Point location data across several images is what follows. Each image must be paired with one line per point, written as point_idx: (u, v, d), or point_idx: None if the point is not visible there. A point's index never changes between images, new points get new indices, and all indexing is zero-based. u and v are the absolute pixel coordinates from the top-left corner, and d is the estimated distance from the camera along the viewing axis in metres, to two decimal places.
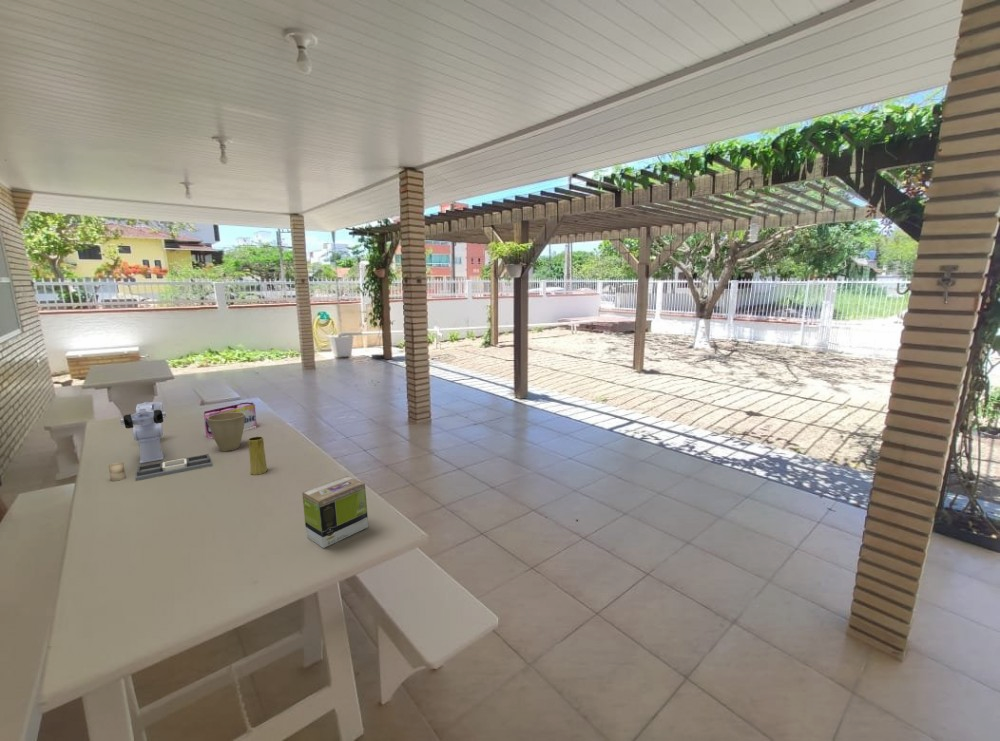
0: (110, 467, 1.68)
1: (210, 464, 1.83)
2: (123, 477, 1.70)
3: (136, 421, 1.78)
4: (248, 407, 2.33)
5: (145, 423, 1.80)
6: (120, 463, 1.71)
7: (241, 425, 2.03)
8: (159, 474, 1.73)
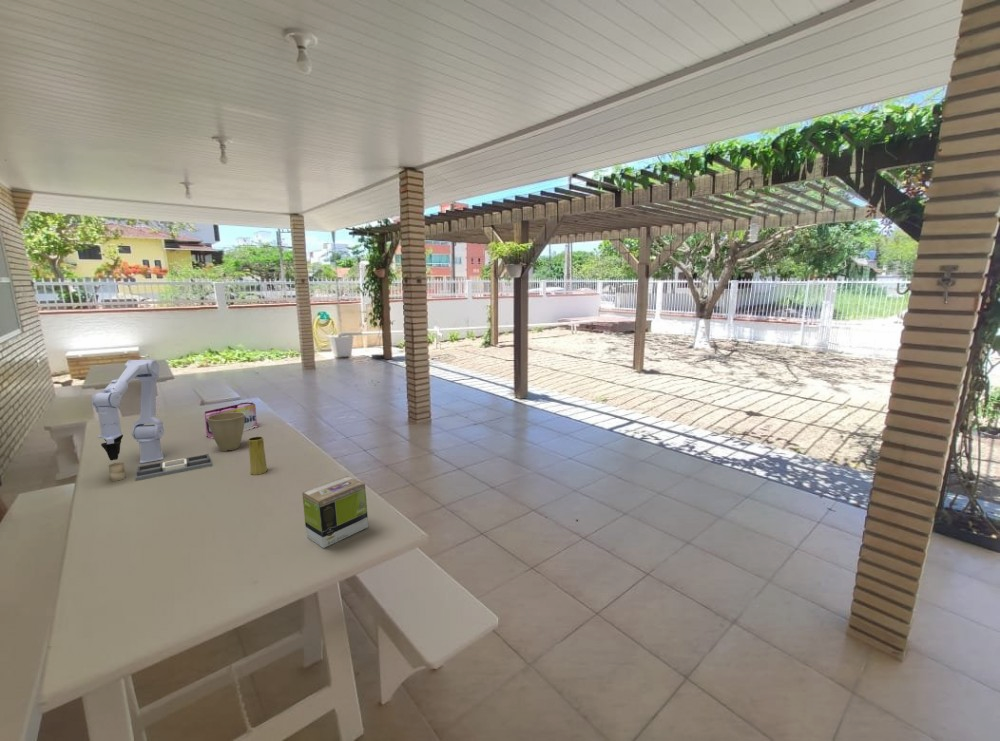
0: (110, 467, 1.68)
1: (210, 464, 1.83)
2: (123, 477, 1.70)
3: None
4: (248, 407, 2.33)
5: None
6: (120, 463, 1.71)
7: (241, 425, 2.03)
8: (159, 474, 1.73)
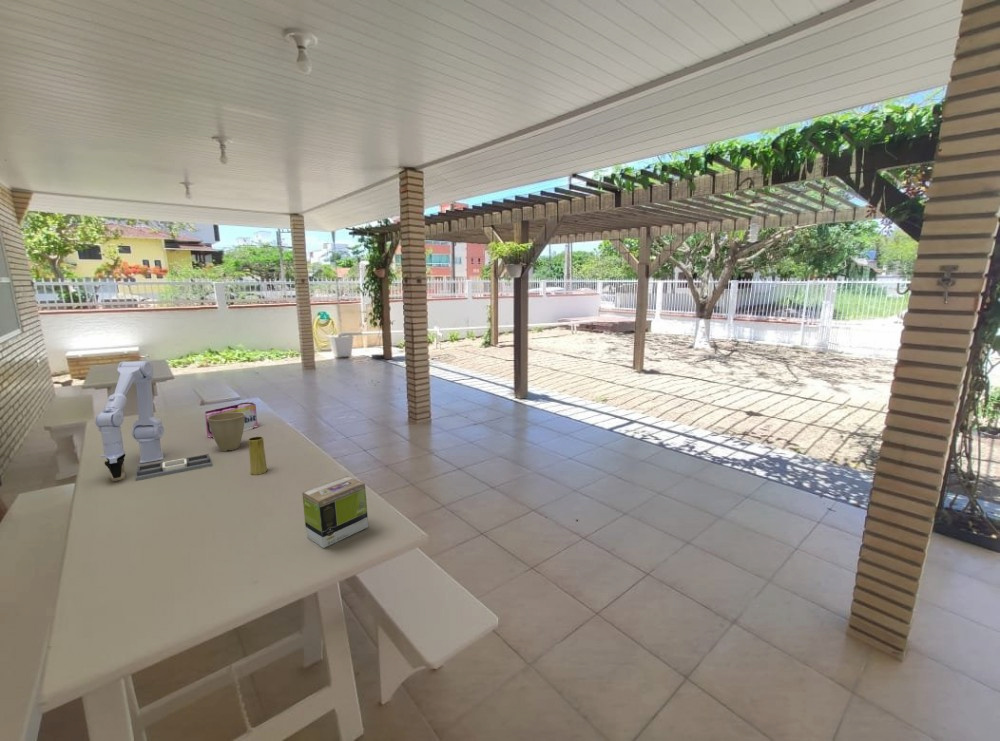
0: None
1: (210, 464, 1.83)
2: (123, 477, 1.70)
3: None
4: (249, 407, 2.33)
5: None
6: None
7: (241, 425, 2.03)
8: (159, 474, 1.73)
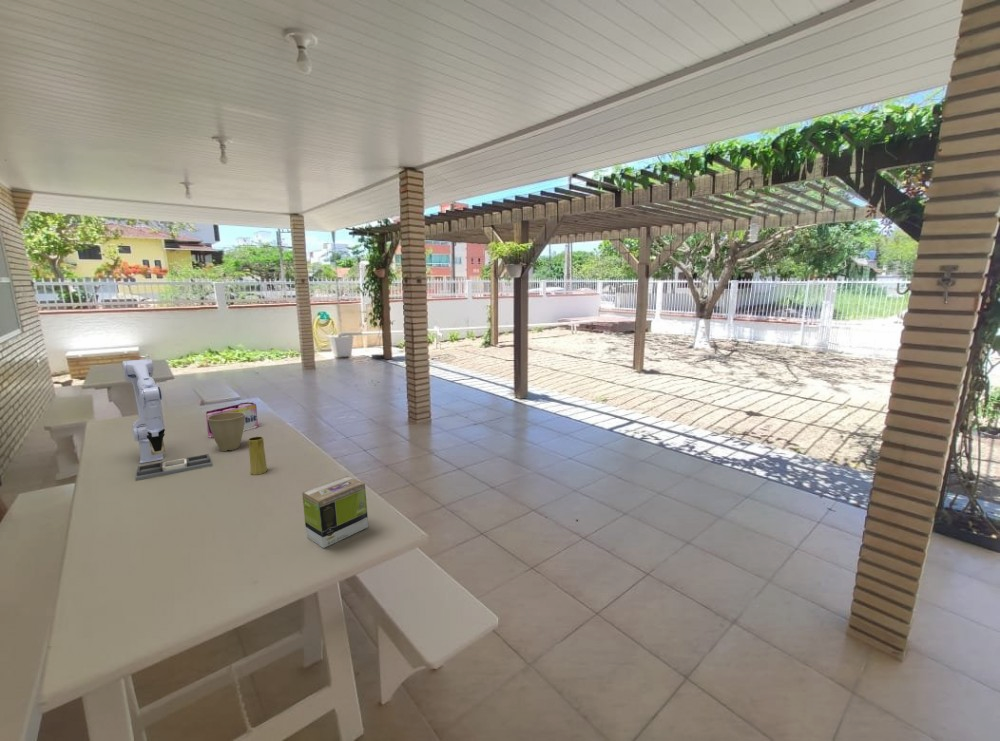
0: None
1: (210, 464, 1.83)
2: (163, 451, 1.76)
3: None
4: (250, 407, 2.33)
5: None
6: None
7: (241, 425, 2.03)
8: (159, 474, 1.73)
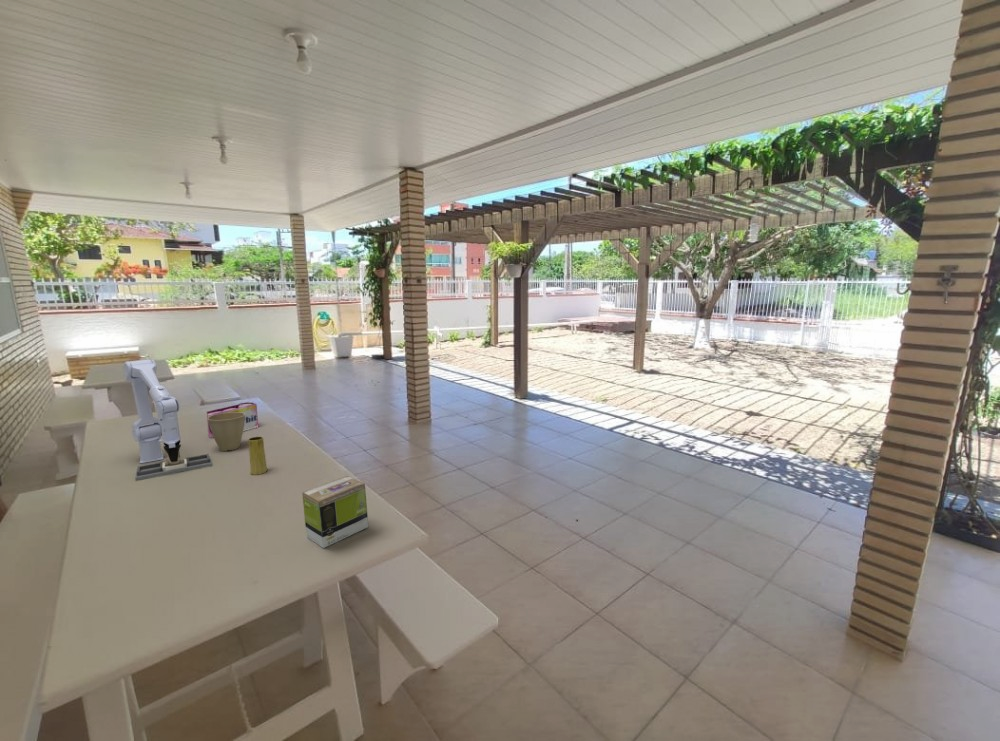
0: None
1: (210, 464, 1.83)
2: (179, 461, 1.80)
3: None
4: (250, 407, 2.33)
5: None
6: None
7: (241, 425, 2.03)
8: (159, 474, 1.73)
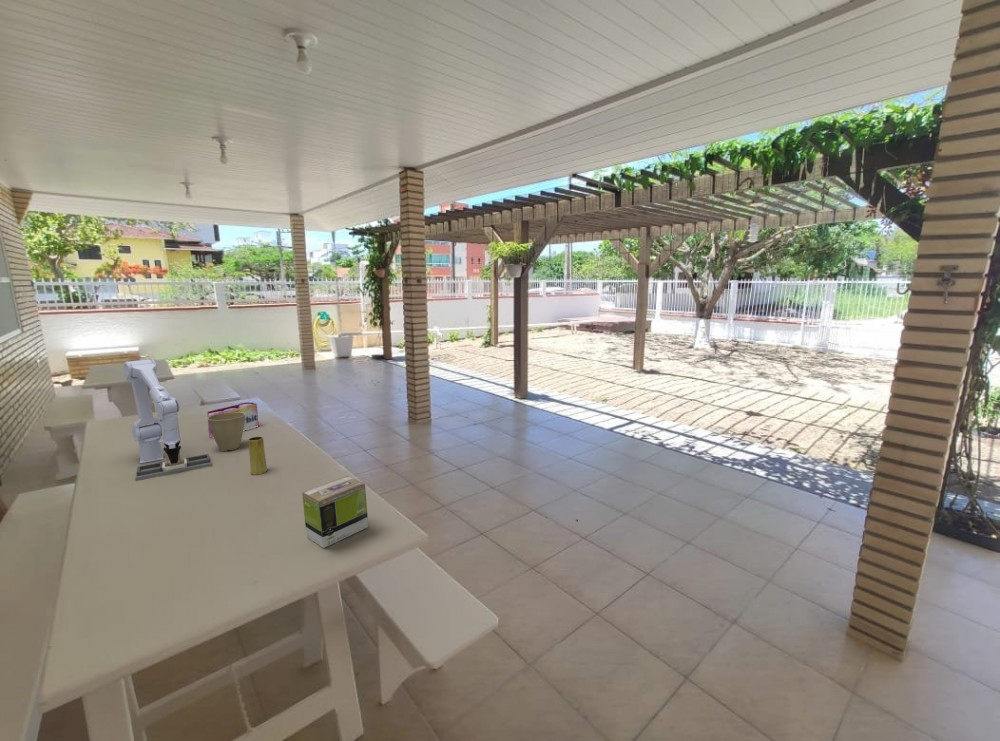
0: None
1: (210, 464, 1.83)
2: None
3: None
4: (250, 407, 2.34)
5: None
6: None
7: (241, 425, 2.03)
8: (159, 474, 1.73)
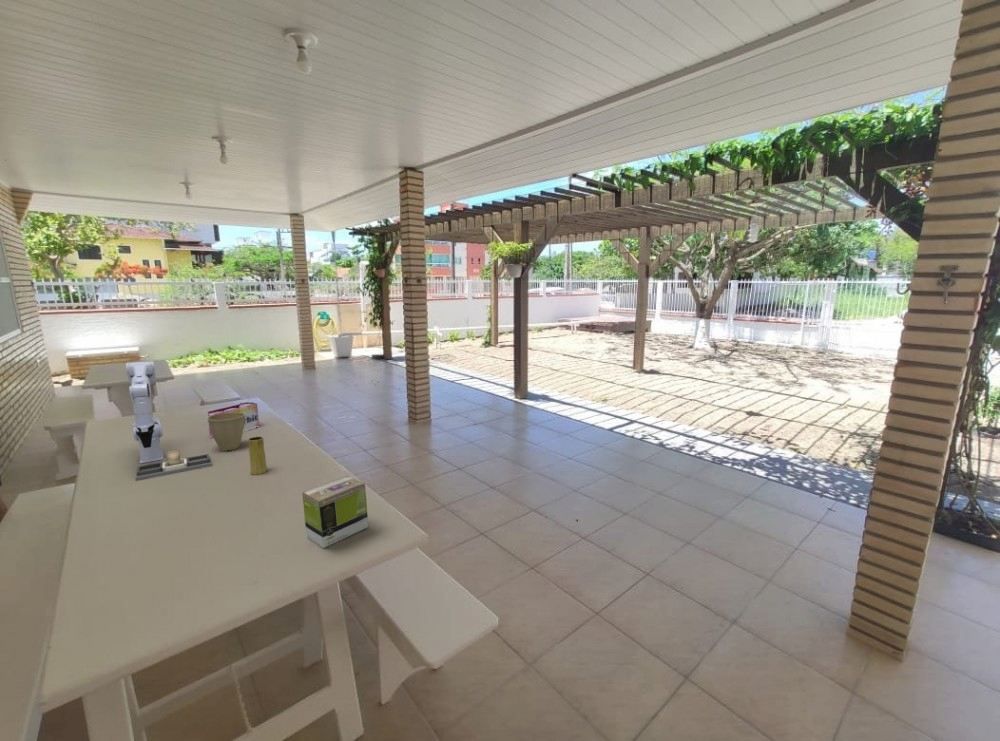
0: (168, 454, 1.77)
1: (210, 464, 1.83)
2: None
3: None
4: (251, 407, 2.34)
5: None
6: (176, 451, 1.80)
7: (241, 425, 2.03)
8: (159, 474, 1.73)
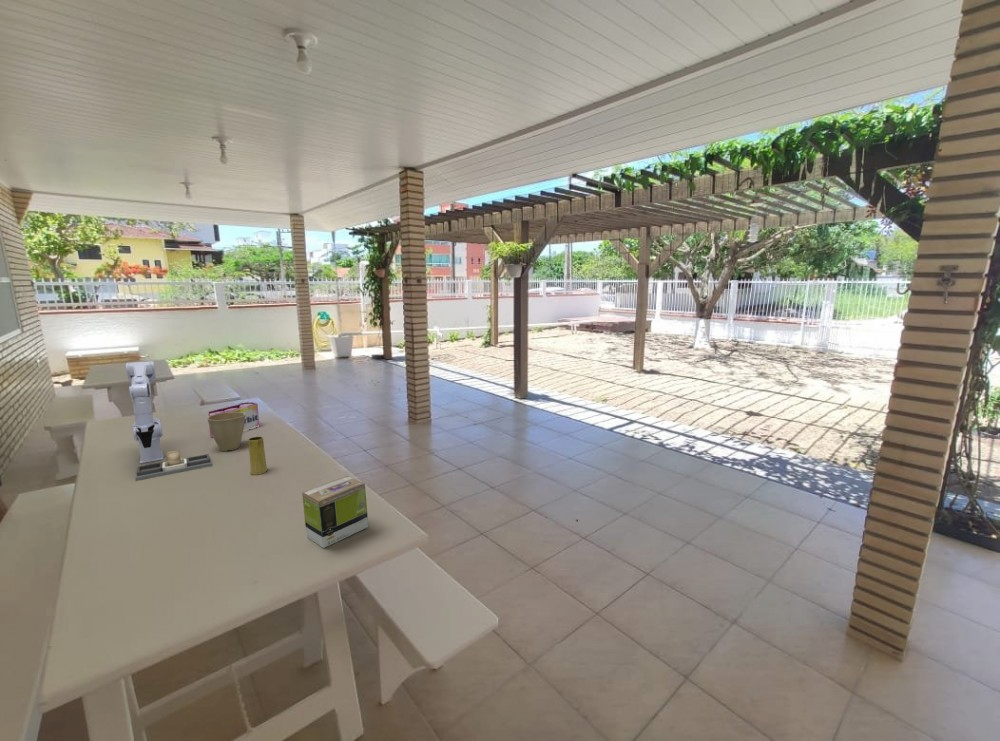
0: (168, 454, 1.77)
1: (210, 464, 1.83)
2: None
3: None
4: (251, 407, 2.34)
5: None
6: (176, 451, 1.80)
7: (241, 425, 2.03)
8: (159, 474, 1.73)
